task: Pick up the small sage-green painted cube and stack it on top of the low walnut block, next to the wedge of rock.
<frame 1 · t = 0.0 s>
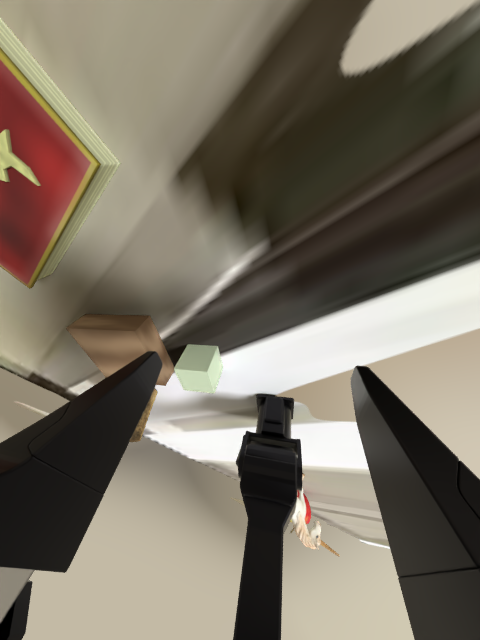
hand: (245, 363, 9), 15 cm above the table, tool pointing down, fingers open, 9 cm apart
green cube: (206, 355, 33), on the table
unicorn figurine: (303, 469, 53), on the table
walnut block: (134, 341, 35), on the table
hardcover book: (37, 183, 22), on the table
apple: (296, 489, 65), on the table
rock: (145, 392, 45), on the table
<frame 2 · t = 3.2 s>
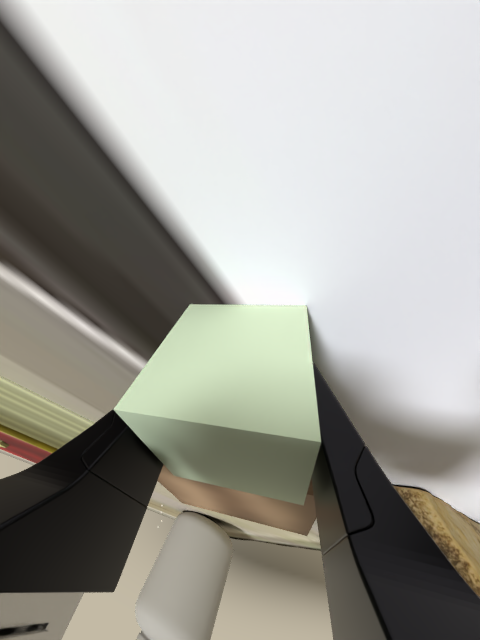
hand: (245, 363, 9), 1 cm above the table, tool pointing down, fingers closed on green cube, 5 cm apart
green cube: (249, 347, 10), on the table, touching gripper
walnut block: (241, 444, 18), on the table
jar: (200, 514, 48), on the table
hardcover book: (58, 413, 24), on the table
rock: (425, 502, 18), on the table
when the fingers open (6 cm above the table, at t = 7.2 s): green cube drops 1 cm, point 4 cm above the table.
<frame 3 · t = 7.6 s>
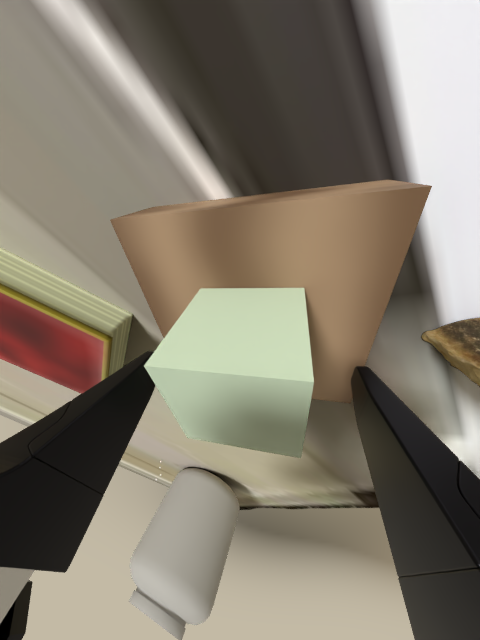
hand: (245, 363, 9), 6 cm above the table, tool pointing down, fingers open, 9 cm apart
green cube: (253, 328, 11), point 4 cm above the table
walnut block: (261, 293, 14), on the table
jar: (203, 472, 43), on the table
hardcover book: (34, 299, 20), on the table
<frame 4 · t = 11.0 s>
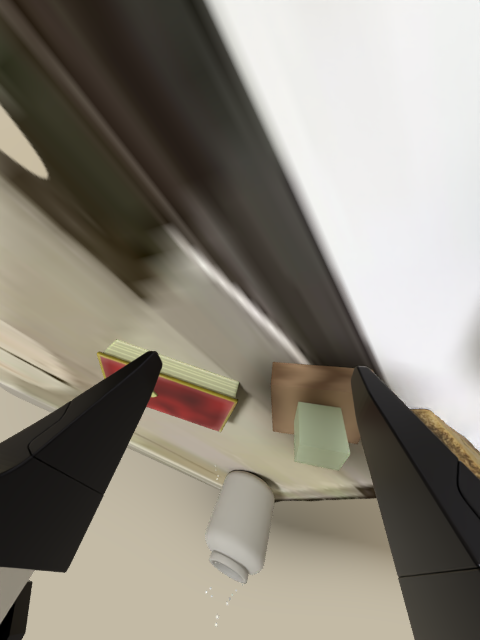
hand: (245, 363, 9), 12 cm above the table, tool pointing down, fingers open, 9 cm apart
green cube: (315, 414, 26), point 4 cm above the table
walnut block: (314, 390, 30), on the table
jar: (245, 474, 59), on the table
hardcover book: (177, 376, 35), on the table
rock: (429, 423, 29), on the table
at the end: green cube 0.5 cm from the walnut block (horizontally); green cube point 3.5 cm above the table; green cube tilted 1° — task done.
